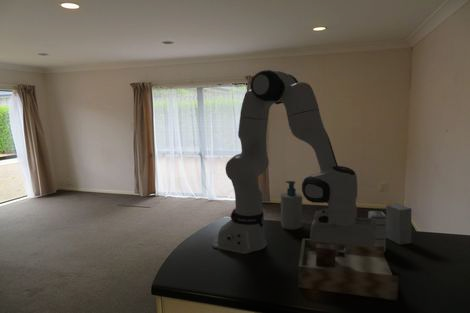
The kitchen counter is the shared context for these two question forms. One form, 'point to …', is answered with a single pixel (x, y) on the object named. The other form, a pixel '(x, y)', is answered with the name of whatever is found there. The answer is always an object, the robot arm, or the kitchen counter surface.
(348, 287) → the tray
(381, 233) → the syrup box
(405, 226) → the skincare box
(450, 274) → the kitchen counter surface
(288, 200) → the soap bottle
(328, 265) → the walnut block
